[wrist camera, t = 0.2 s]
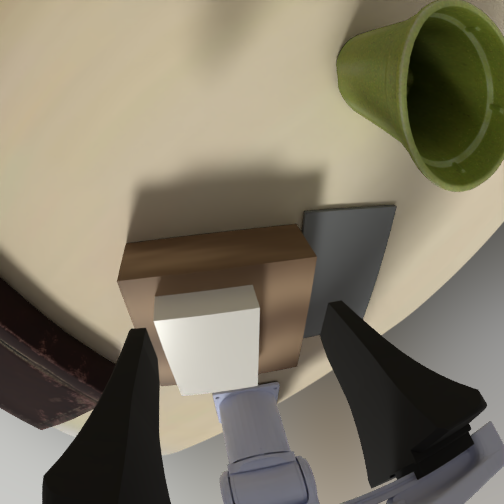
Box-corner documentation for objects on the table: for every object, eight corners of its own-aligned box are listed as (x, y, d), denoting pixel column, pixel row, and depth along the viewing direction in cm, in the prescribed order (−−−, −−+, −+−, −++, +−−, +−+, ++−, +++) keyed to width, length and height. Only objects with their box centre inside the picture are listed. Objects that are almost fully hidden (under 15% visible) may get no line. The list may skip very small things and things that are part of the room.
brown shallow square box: (284, 333, 28) (296, 366, 25) (160, 350, 26) (161, 386, 23) (296, 224, 21) (317, 256, 18) (125, 243, 19) (117, 281, 16)
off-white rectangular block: (252, 365, 24) (257, 385, 22) (180, 375, 23) (181, 396, 21) (252, 284, 18) (259, 307, 17) (154, 296, 17) (153, 321, 16)
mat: (359, 323, 30) (360, 325, 30) (288, 338, 29) (289, 340, 29) (394, 204, 22) (396, 206, 22) (303, 211, 21) (305, 213, 21)
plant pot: (360, -16, 12) (459, -36, 5) (442, 76, 16) (533, 105, 9) (280, 82, 15) (355, 100, 8) (379, 164, 20) (461, 223, 13)
